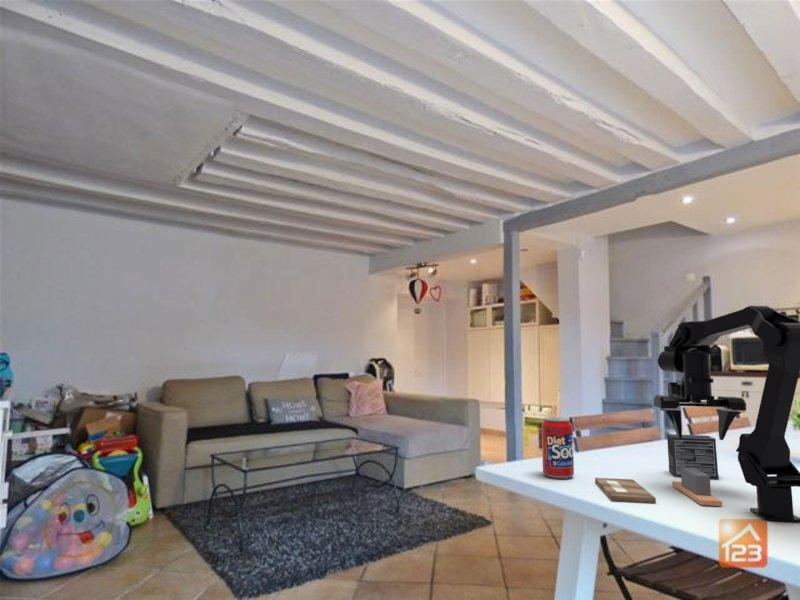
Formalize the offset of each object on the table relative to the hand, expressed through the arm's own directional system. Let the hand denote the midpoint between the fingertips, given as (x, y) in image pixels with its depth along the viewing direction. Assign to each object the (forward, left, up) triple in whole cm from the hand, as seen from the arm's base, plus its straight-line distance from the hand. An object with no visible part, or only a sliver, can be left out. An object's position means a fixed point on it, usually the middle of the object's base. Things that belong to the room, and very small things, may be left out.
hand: (700, 439), depth 119 cm
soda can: (+8, +32, -12) cm, 35 cm away
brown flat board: (-5, +19, -12) cm, 23 cm away
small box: (+16, -4, -12) cm, 21 cm away
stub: (-5, +4, -12) cm, 13 cm away
